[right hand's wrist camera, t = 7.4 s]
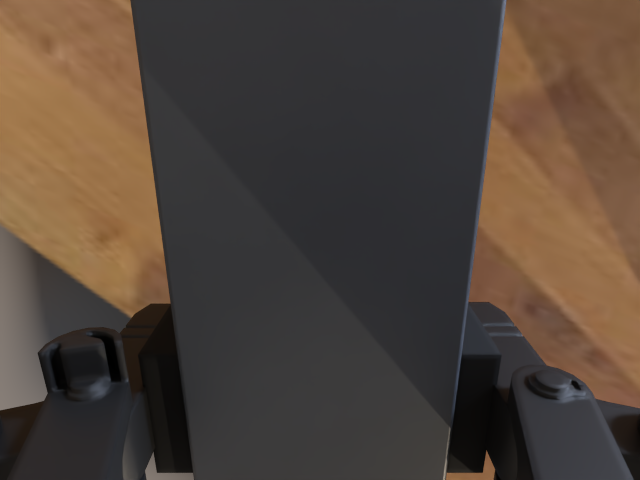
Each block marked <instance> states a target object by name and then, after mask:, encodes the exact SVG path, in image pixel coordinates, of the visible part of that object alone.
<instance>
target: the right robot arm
mask: <svg viewBox="0 0 640 480" xmlns="http://www.w3.org/2000/svg"><path fill="white" fill-rule="evenodd" d="M38 356H39V360H40V364H41V368H42V372H43V376H44V380H45V384H46V388H47V392H48V394H47V396H46V398H45V400H44V401H42V402H38V403H35V404H30V405H25V406H20V407H15V408H10V409H5V410H0V480H146V474H145V469H146V467H147V465H148V462H149V460H150V458H151V456H152V453H153V451H154V457H155V463H156V469H157V473H193V467H192V460H191V452H190V445H189V437H188V430H187V422H186V415H185V407H184V400H183V392H182V384H181V377H180V369H179V362H178V354H177V347H176V339H175V332H174V324H173V317H172V309H171V304H150V305H148V306H147V307H145V308H143V309H142V310H140V311H139V312H137V313H136V314H135V315H134V316H133V317H132V318H131V320H130V321H129V322H128V324H127V325H126V328H124V329H123V330H122V331H121V333H120V334H119V333H118V332H117V331H115V330H113V329H109V328H104V327H99V328H86V329H81V330H76V331H72V332H69V333H67V334H64V335H61V336H59V337H57V338H55V339H54V340H52V341H50V342H49V343H47V344H46V345H45V346H44V347H43V348H42V349H41V350H40V351H39V352H38ZM486 450H487V452H488V454H489V456H490V459H491V461H492V463H493V465H494V468H495V474H494V480H640V408H635V407H630V406H625V405H620V404H615V403H610V402H605V401H602V400H598V399H595V398H594V395H593V393H592V392H591V391H590V389H589V388H588V387H587V385H586V384H585V383H584V382H582V381H581V380H579V379H578V378H577V377H575V376H574V375H572V374H570V373H568V372H565V371H563V370H561V369H558V368H554V367H550V366H547V365H546V364H545V363H544V362H543V360H542V359H541V358H540V357H539V355H538V354H537V353H536V351H535V350H534V349H533V348H532V346H531V345H530V344H529V342H528V341H527V340H526V339H525V337H524V336H522V334H521V332H520V331H519V330H518V328H517V327H516V326H514V323H513V322H512V321H511V320H510V318H509V317H508V316H507V314H506V313H505V312H504V311H502V310H500V309H499V308H497V307H496V306H494V305H492V304H491V303H489V302H468V307H467V315H466V323H465V331H464V339H463V347H462V355H461V363H460V371H459V379H458V386H457V394H456V402H455V410H454V418H453V426H452V434H451V442H450V450H449V458H448V465H447V473H483V467H484V461H485V455H486Z"/></svg>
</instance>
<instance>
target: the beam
mask: <svg viewBox="0 0 640 480" xmlns="http://www.w3.org/2000/svg"><path fill="white" fill-rule="evenodd" d="M505 7H506V0H131V8H132V15H133V23H134V30H135V38H136V45H137V53H138V60H139V68H140V75H141V83H142V91H143V98H144V106H145V113H146V121H147V128H148V136H149V143H150V151H151V158H152V166H153V173H154V181H155V188H156V196H157V204H158V211H159V219H160V226H161V234H162V241H163V249H164V256H165V264H166V271H167V279H168V286H169V294H170V302H171V309H172V317H173V324H174V332H175V339H176V347H177V354H178V362H179V369H180V377H181V384H182V392H183V400H184V407H185V415H186V422H187V430H188V437H189V445H190V452H191V460H192V467H193V475H194V480H446V473H447V465H448V458H449V450H450V442H451V434H452V426H453V418H454V410H455V402H456V394H457V386H458V379H459V371H460V363H461V355H462V347H463V339H464V331H465V323H466V315H467V307H468V300H469V292H470V284H471V276H472V268H473V260H474V252H475V244H476V236H477V228H478V221H479V213H480V205H481V197H482V189H483V181H484V173H485V165H486V157H487V149H488V142H489V134H490V126H491V118H492V110H493V102H494V94H495V86H496V78H497V70H498V63H499V55H500V47H501V39H502V31H503V23H504V15H505Z"/></svg>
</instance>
